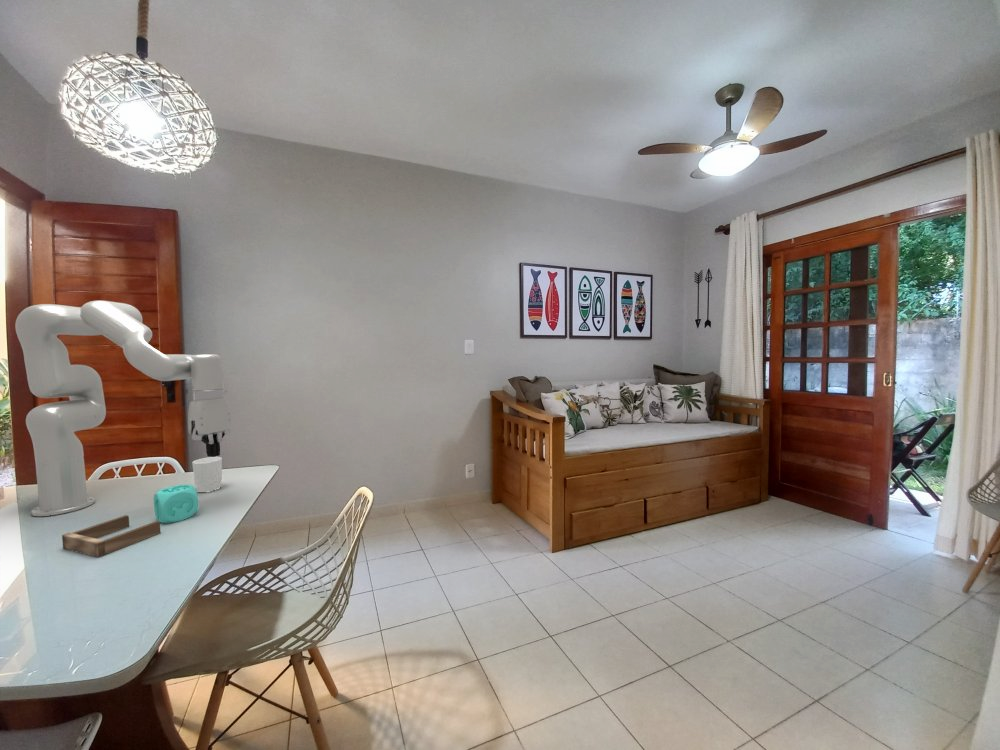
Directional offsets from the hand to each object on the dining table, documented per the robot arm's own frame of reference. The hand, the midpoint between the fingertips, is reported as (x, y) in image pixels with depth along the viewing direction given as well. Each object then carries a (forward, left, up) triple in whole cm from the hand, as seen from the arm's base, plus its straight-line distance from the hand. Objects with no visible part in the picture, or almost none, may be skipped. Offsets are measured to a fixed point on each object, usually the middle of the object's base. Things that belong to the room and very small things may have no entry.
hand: (213, 455), depth 118 cm
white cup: (-14, +8, -15) cm, 22 cm away
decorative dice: (0, -11, -15) cm, 18 cm away
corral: (0, -24, -15) cm, 28 cm away
